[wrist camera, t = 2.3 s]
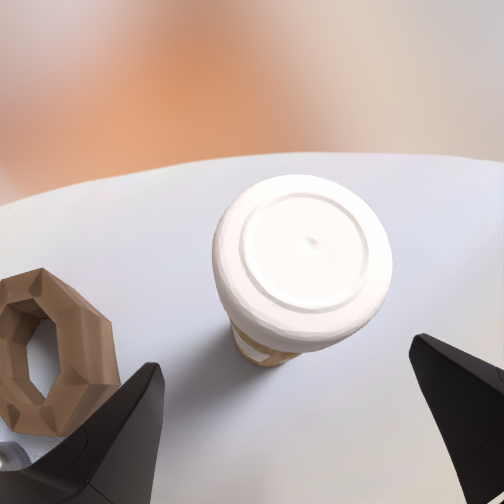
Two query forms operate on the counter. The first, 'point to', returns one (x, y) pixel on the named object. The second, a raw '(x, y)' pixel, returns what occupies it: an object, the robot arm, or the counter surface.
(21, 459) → the short metal stub
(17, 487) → the robot arm
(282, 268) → the sprinkles bottle
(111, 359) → the walnut collar
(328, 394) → the counter surface
